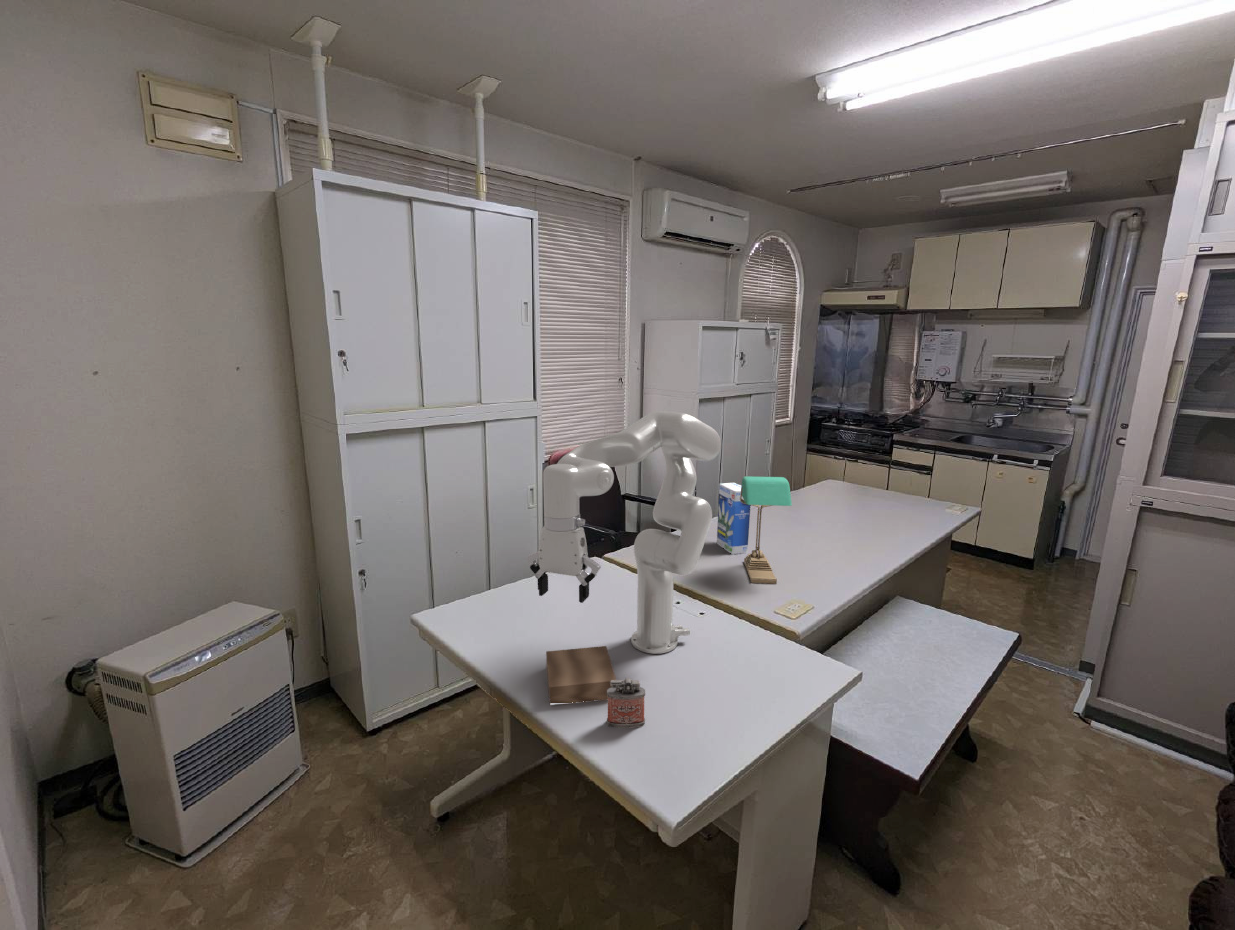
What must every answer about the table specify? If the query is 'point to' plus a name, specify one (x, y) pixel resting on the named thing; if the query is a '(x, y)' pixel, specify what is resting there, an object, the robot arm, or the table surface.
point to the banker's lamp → (756, 494)
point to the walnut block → (579, 674)
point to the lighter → (625, 704)
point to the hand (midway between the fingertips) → (563, 596)
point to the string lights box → (732, 519)
